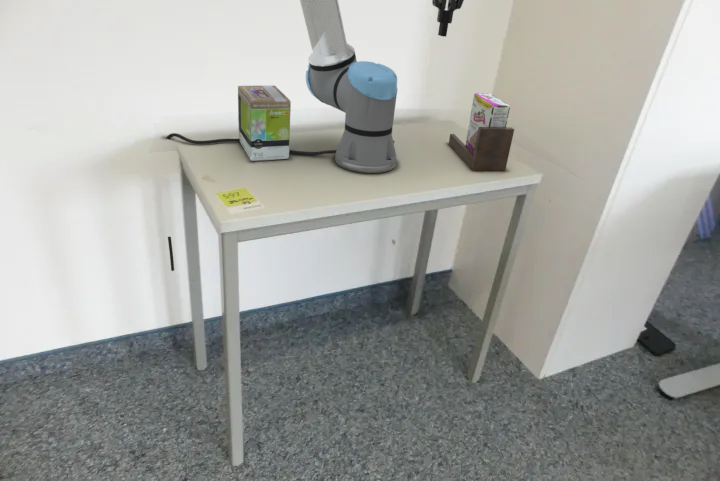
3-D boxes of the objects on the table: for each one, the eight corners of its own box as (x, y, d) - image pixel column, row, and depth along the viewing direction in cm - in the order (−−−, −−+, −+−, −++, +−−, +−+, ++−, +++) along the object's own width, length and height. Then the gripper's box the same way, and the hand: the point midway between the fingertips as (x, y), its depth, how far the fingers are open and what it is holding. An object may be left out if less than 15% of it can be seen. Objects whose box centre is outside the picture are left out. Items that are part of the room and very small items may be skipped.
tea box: (290, 159, 138) (291, 100, 131) (250, 162, 134) (249, 101, 127) (275, 138, 150) (275, 83, 143) (237, 141, 146) (236, 84, 139)
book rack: (472, 170, 141) (480, 128, 135) (448, 144, 157) (454, 105, 152) (505, 171, 143) (514, 129, 137) (477, 144, 159) (485, 106, 154)
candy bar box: (462, 152, 152) (473, 92, 144) (479, 152, 153) (490, 92, 145) (480, 168, 143) (493, 105, 134) (498, 168, 144) (511, 105, 136)
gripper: (437, -65, 139) (423, 35, 149) (486, -59, 142) (469, 39, 152) (428, -64, 145) (415, 32, 156) (475, -58, 148) (459, 36, 158)
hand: (442, 35), depth 154 cm, fingers closed
